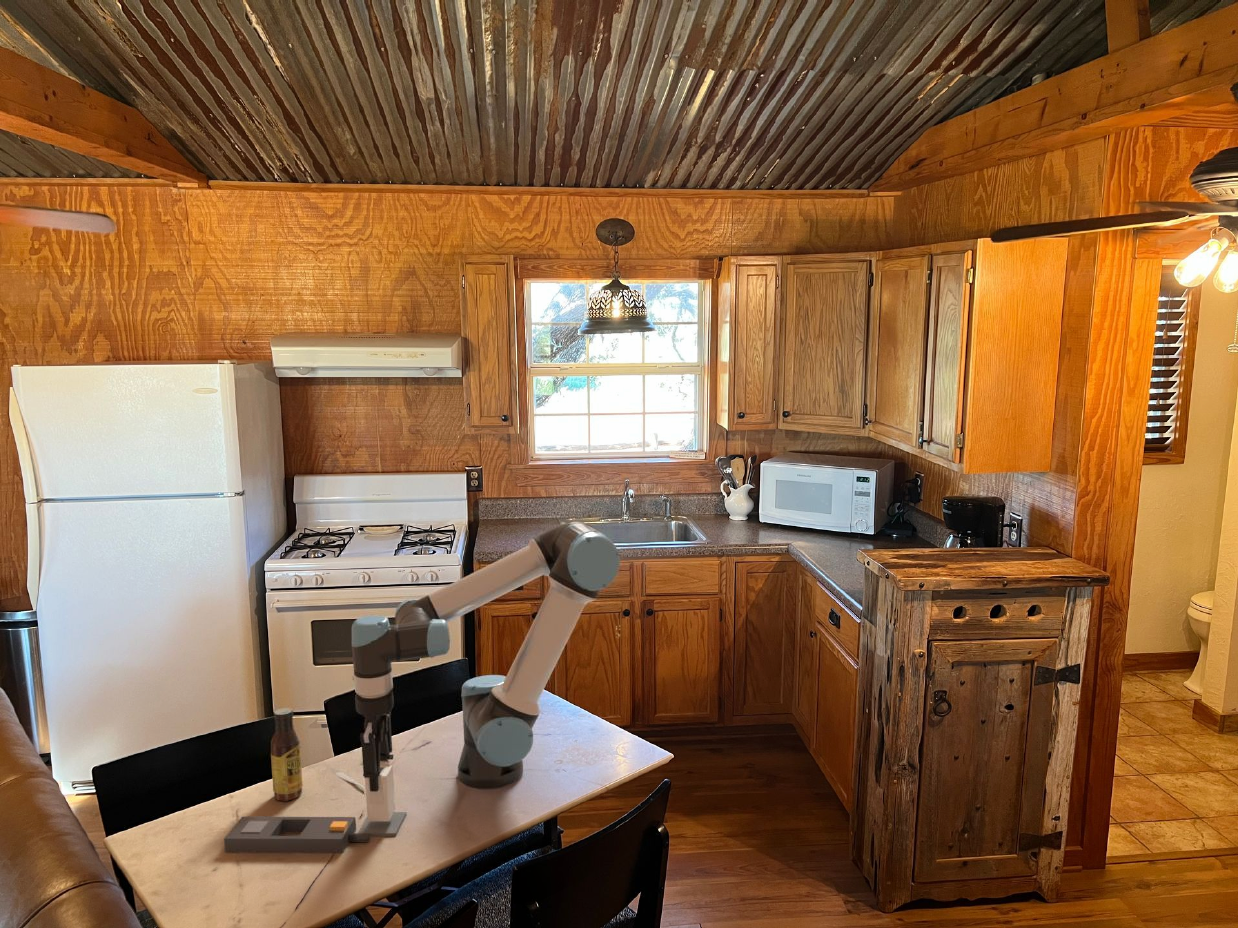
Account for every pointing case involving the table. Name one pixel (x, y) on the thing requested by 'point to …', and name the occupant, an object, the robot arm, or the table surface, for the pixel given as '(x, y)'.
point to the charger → (388, 807)
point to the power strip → (313, 838)
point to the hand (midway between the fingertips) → (380, 796)
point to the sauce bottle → (286, 757)
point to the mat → (383, 825)
